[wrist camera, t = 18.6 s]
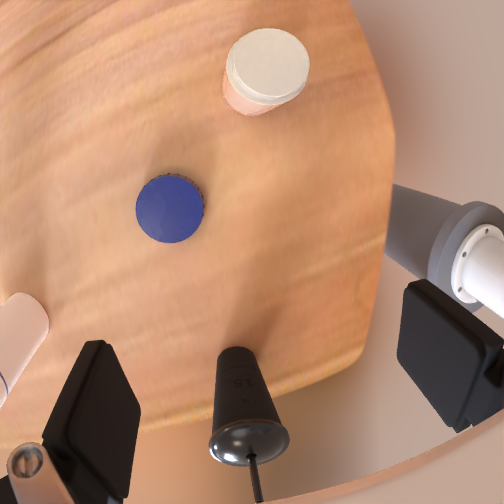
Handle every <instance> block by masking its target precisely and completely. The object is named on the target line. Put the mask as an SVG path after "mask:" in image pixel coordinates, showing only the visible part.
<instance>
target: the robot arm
mask: <svg viewBox="0 0 504 504" xmlns="http://www.w3.org/2000/svg"><path fill="white" fill-rule="evenodd" d="M451 284H452V289H453V291H454V294H455V295H456V296H457V298H459V299H460V300H461V301H463V302H465V303H474V302H477V301H480V302H482V303H483V304H484V305H486V306H487V307H488V308H490V309H491V310H493V311H494V312H495V313H497V314H498V315H499V316H501V317H502V318H503V319H504V236H503V234H502V232H501V231H500V230H499V228H497V227H495V226H493V225H490V224H483V225H479V226H478V227H476V228H474V229H473V230H472V231H471V232H470V233H469V234H468V235H467V236H466V238H465V239H464V240H463V242H462V244H461V245H460V247H459V249H458V251H457V254H456V256H455V259H454V263H453V267H452V274H451ZM503 345H504V339H503V338H501V337H500V336H499V335H498V334H497V333H495V332H494V331H493V330H492V329H491V328H489V327H488V326H487V325H486V324H484V323H483V322H482V321H481V320H479V319H478V318H477V317H476V316H474V315H473V314H472V313H470V312H469V311H468V310H467V309H465V308H464V307H463V306H461V305H460V304H459V303H458V302H456V301H455V300H454V299H452V298H451V297H450V296H448V295H447V294H446V293H444V292H443V291H442V290H440V289H439V288H438V287H436V286H435V285H434V284H432V283H431V282H429V281H428V280H426V279H421V280H417V281H414V282H410V283H409V284H408V286H407V288H406V289H405V290H404V295H403V306H402V316H401V325H400V333H399V341H398V348H397V359H398V361H399V363H400V364H401V366H402V367H403V368H404V369H405V371H406V372H407V373H408V375H409V376H410V377H411V379H412V380H413V381H414V382H415V384H416V385H417V386H418V388H419V389H420V390H421V391H422V393H423V394H424V396H425V397H426V398H427V399H428V401H429V402H430V404H431V405H432V406H433V408H434V409H435V410H436V411H437V413H438V414H439V416H440V417H441V418H442V420H443V421H444V422H445V424H446V425H447V426H448V427H453V429H454V430H455V432H456V433H459V432H461V431H462V430H464V429H466V428H468V427H469V426H470V425H471V424H472V426H473V428H471V429H469V430H467V431H465V432H464V433H462V434H460V435H458V436H457V437H454V438H453V439H451V440H449V441H447V442H445V443H443V444H441V445H439V446H437V447H435V448H433V449H431V450H429V451H427V452H425V453H422V454H420V455H418V456H416V457H413V458H411V459H409V460H407V461H404V462H402V463H399V464H397V465H395V466H392V467H389V468H387V469H384V470H382V471H379V472H376V473H374V474H371V475H368V476H365V477H363V478H359V479H356V480H354V481H350V482H347V483H344V484H340V485H337V486H334V487H330V488H327V489H323V490H319V491H316V492H312V493H307V494H303V495H299V496H295V497H290V498H285V499H280V500H274V501H269V502H263V503H257V504H504V349H503ZM140 416H141V409H140V405H139V403H138V401H137V399H136V397H135V395H134V393H133V391H132V389H131V387H130V385H129V383H128V380H127V378H126V376H125V374H124V372H123V370H122V368H121V365H120V363H119V361H118V359H117V356H116V354H115V352H114V350H113V347H112V346H111V344H107V343H106V342H105V341H104V340H95V341H87V342H86V343H85V344H84V346H83V348H82V350H81V352H80V354H79V356H78V358H77V360H76V362H75V364H74V366H73V368H72V370H71V372H70V374H69V376H68V378H67V380H66V382H65V384H64V387H63V389H62V391H61V393H60V395H59V397H58V400H57V402H56V404H55V406H54V408H53V411H52V413H51V415H50V418H49V420H48V422H47V425H46V427H45V429H44V432H43V434H42V438H43V439H44V440H43V443H42V445H40V444H39V443H34V442H29V443H24V444H22V445H20V446H18V447H17V448H15V449H14V450H13V452H12V453H11V454H10V456H9V458H8V460H7V472H8V475H7V476H5V477H3V478H1V479H0V504H123V499H124V498H127V497H128V494H129V486H130V479H131V472H132V465H133V458H134V452H135V445H136V439H137V433H138V427H139V422H140Z"/></svg>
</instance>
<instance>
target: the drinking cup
mask: <svg viewBox="0 0 504 504" xmlns="http://www.w3.org/2000/svg"><path fill="white" fill-rule="evenodd" d="M289 442H290V437H289V434H288V431H287V430H286V429H285V427H283V426H282V424H281V421H280V419H279V416H278V414H277V411H276V409H275V406H274V404H273V402H272V399H271V396H270V394H269V392H268V389H267V386H266V384H265V381H264V379H263V376H262V374H261V371H260V369H259V366H258V364H257V361H256V359H255V356H254V354H253V353H252V352H251V351H250V350H248V349H246V348H243V347H231V348H228V349H226V350H224V351H223V352H222V353H221V354H220V355H219V357H218V360H217V371H216V384H215V398H214V412H213V427H212V436H211V438H210V440H209V450H210V453H211V454H212V455H213V457H214V458H215V459H217V460H218V461H220V462H222V463H225V464H228V465H233V466H249V467H250V473H251V480H252V486H253V491H254V497H255V502H256V503H262V502H264V501H263V496H262V490H261V485H260V480H259V474H258V469H257V465H260V464H264V463H267V462H269V461H272V460H274V459H276V458H277V457H279V456H280V455H281V454H283V453H284V452H285V450H286V449H287V447H288V445H289Z"/></svg>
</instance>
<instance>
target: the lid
mask: <svg viewBox="0 0 504 504" xmlns="http://www.w3.org/2000/svg"><path fill="white" fill-rule="evenodd" d="M203 208H204V204H203V196H202V195H201V192H200V191H199V188H198V187H197V186H196V185H195V184H194V182H192V181H191V180H190V179H188V178H186V177H184V176H181V175H178V174H170V173H168V174H166V175H162V176H161V175H160V176H158V177H157V178H155V179H152V180H151V181H150V182H149V183H148V184H147V185H145V186H144V188H143V189H142V191H141V192H140V194H139V196H138V199H137V202H136V216H137V220H138V222H139V225H140V226H141V228H142V229H143V231H144V232H145V233H146V234H147V235H148V236H150V237H151V238H153V239H155V240H157V241H160V242H164V243H176V242H180V241H182V240H185V239H186V238H188V237H190V236H191V235H192V234H193V233H194V232H195V231H196V230H197V228H198V227H199V225H200V223H201V220H202V216H203V214H204V213H203Z"/></svg>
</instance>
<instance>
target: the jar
mask: <svg viewBox="0 0 504 504" xmlns="http://www.w3.org/2000/svg"><path fill="white" fill-rule="evenodd" d="M309 69H310V62H309V56H308V53H307V51H306V49H305V47H304V46H303V44H302V43H301V42H300V41H299V40H298V39H297V38H296V37H295V36H293V35H292V34H290V33H288V32H286V31H283V30H280V29H274V28H260V29H257V30H254V31H251V32H249V33H247V34H246V35H244V36H243V37H242V38H240V39H239V40H238V41H237V42H236V43H235V44H234V45H233V46H232V48H231V50H230V51H229V54H228V57H227V61H226V66H225V71H224V76H223V81H222V93H223V96H224V99H225V100H226V102H227V103H228V105H229V106H230V107H231V108H232V109H234V110H235V111H237V112H239V113H241V114H244V115H250V116H256V115H261V114H265V113H267V112H269V111H271V110H272V109H274V108H276V107H278V106H280V105H282V104H284V103H286V102H287V101H289V100H291V99H293V98H294V97H295V96H297V95H298V94H299V93H300V92H301V91H302V89H303V88H304V86H305V84H306V82H307V79H308V73H309Z"/></svg>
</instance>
